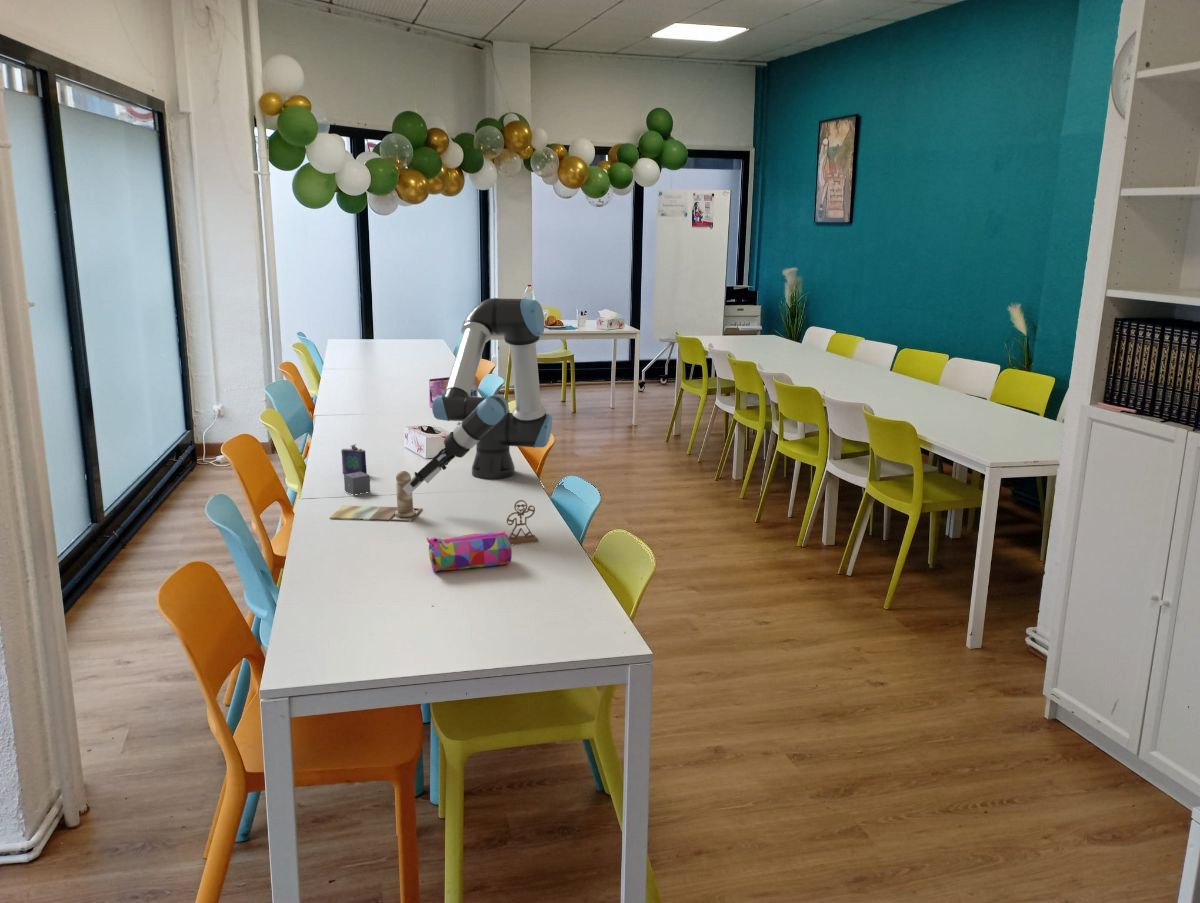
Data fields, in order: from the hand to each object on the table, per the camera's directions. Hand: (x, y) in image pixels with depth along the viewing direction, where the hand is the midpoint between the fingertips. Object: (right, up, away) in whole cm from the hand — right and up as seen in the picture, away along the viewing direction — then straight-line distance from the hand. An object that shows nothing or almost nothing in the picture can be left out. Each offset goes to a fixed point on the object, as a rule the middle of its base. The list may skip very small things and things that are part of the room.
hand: (415, 485), depth 278 cm
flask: (-31, +2, +48) cm, 57 cm away
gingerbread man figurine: (+33, -15, -18) cm, 41 cm away
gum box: (-15, +32, +170) cm, 174 cm away
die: (-24, -3, +26) cm, 36 cm away
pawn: (-4, -9, +3) cm, 10 cm away
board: (-13, -9, +4) cm, 17 cm away
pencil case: (+22, -20, -38) cm, 48 cm away
